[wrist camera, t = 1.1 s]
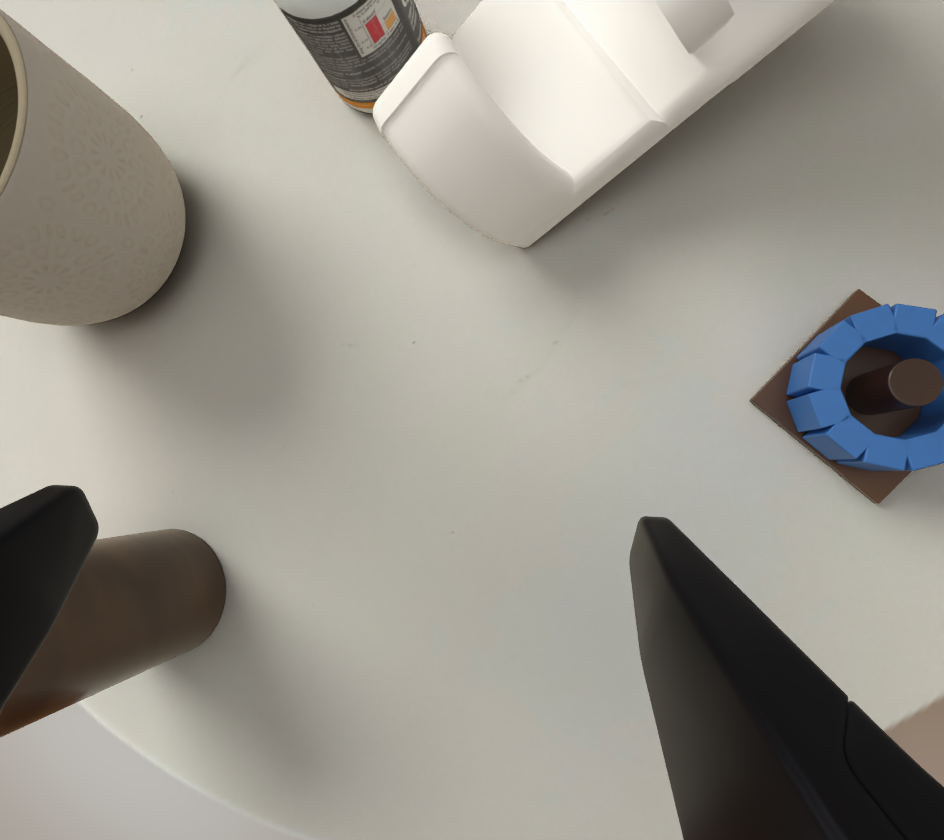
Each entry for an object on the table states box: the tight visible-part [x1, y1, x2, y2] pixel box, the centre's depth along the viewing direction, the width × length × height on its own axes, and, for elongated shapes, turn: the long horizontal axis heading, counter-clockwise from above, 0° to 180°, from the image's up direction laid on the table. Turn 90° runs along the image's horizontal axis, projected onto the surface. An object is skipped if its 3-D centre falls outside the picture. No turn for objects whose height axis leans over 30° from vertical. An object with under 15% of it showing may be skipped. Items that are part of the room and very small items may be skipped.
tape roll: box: [787, 304, 944, 471], centre depth 23 cm, size 6×6×2 cm
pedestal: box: [0, 529, 225, 737], centre depth 25 cm, size 7×7×11 cm
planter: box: [0, 9, 185, 325], centre depth 28 cm, size 12×12×11 cm
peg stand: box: [750, 289, 943, 504], centre depth 23 cm, size 7×7×4 cm
